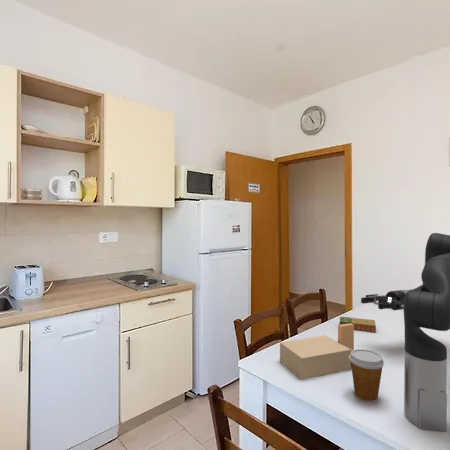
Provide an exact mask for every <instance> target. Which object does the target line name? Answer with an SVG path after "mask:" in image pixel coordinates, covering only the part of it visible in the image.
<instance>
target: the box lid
mask: <svg viewBox="0 0 450 450" xmlns="http://www.w3.org/2000/svg"><path fill="white" fill-rule="evenodd" d="M328 337H329V336H326V335H321V336H313V337H306V338H300V339H293V340H287V341H286V340H285V341H280V342H279V362H281V364H283V365H284V367H286V368H287V369H288V370H290V371H291V372H292V373H293V374H295V375H296V376H297V377H298V378H300V380H308V379H311V378H312V379H313V378H317V377H321V376H326V375H331V374H334V373H336V374H337V373H341V372H345V371H350V370H351V371H352V368H351V361H350V359H349V355H350V354H351V350H350V349H349V348H347V347H345V346H343V345H341V344H339V343H337V342H338V341H336V340H334V339H333V338H331V337H329V338H328ZM330 338H331V339H330ZM332 339H333V340H332Z"/></svg>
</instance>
